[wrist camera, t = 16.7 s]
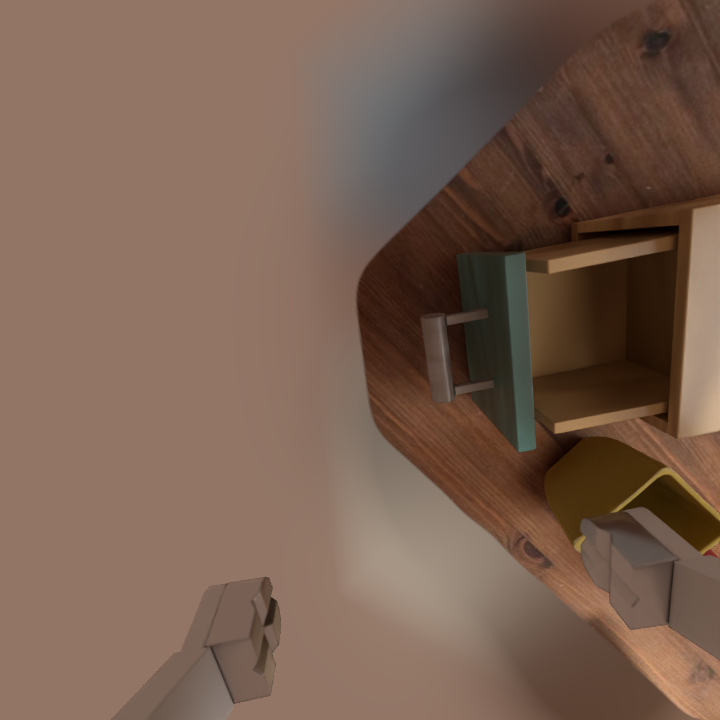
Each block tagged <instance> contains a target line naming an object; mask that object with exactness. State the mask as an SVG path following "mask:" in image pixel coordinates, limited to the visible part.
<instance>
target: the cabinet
mask: <svg viewBox="0 0 720 720" xmlns="http://www.w3.org/2000/svg"><path fill="white" fill-rule="evenodd" d="M666 227H679V240H678V257H677V274H676V291H675V308H674V325H673V342H672V359H671V377H670V394H669V411H668V412H666V413H661V414H656V415H650V416H645V417H640V419H642V420H643V421H645V422H647V423H649V424H651V425H652V426H654V427H656V428H658V429H660V430H661V431H663V432H665V433H668V434H669V435H671V436H673V437H674V438H676V439H680V438H685V437H691V436H696V435H701V434H706V433H711V432H717V431H720V194H718V195H713V196H708V197H703V198H698V199H693V200H688V201H683V202H678V203H672V204H667V205H662V206H657V207H652V208H647V209H642V210H637V211H632V212H627V213H622V214H617V215H611V216H606V217H601V218H596V219H591V220H586V221H581V222H576V223H572V224H571V241H572V242H573V241H578V240H583V239H588V238H593V237H598V236H603V235H608V234H614V233H619V232H624V231H629V230H640V229H653V228H666Z"/></svg>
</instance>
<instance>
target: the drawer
mask: <svg viewBox="0 0 720 720" xmlns="http://www.w3.org/2000/svg"><path fill="white" fill-rule="evenodd" d="M678 240H679V227H666V228H653V229H640V230H629V231H624V232H619V233H614V234H608V235H603V236H598V237H593V238H588V239H583V240H578V241H573V242H568V243H563V244H558V245H552V246H547V247H542V248H537V249H532V250H527V251H522V252H467V253H462V254H457V255H456V257H457V266H458V275H459V284H460V293H461V303H462V312H459V313H454V314H449V315H445V314H444V313H431V314H426V315H423V316H421V317H420V320H421V327H422V334H423V341H424V348H425V355H426V362H427V369H428V376H429V383H430V390H431V397H432V401H433V402H435V403H448V402H451V401H453V400H454V399H455V395H458V394H463V393H468V392H471V395H472V400H473V402H474V403H475V404H476V405H477V406H478V407H479V408H480V410H481V411H482V412H483V413H484V414H485V415H486V416H487V417H488V419H489V420H490V421H491V422H492V423H493V424H494V425H495V426H496V428H497V429H498V430H499V431H500V432H501V433H502V434H503V435H504V437H505V438H506V439H507V440H508V441H509V442H510V443H511V444H512V446H513V447H514V448H515V449H516V450H517V451H518V452H524V451H529V450H534V449H536V436H535V418H537V419H538V420H539V421H540V422H541V423H542V424H544V425H545V426H546V427H547V428H548V429H550V430H551V431H552V432H553V433H554V434H558V433H563V432H568V431H573V430H578V429H583V428H589V427H594V426H599V425H604V424H609V423H614V422H619V421H625V420H630V419H635V418H640V417H645V416H650V415H656V414H661V413H666V412H668V411H669V394H670V377H671V359H672V342H673V325H674V308H675V291H676V274H677V257H678ZM463 322H464V330H465V339H466V349H467V358H468V367H469V376H470V382H464V383H459V384H454V385H453V377H452V369H451V360H450V352H449V344H448V336H447V328H446V325H447V326H448V325H453V324H458V323H463ZM534 417H535V418H534Z"/></svg>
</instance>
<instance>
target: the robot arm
mask: <svg viewBox="0 0 720 720" xmlns="http://www.w3.org/2000/svg"><path fill="white" fill-rule="evenodd" d="M580 531H581V533H582V534H583V535H584V536H585V537H586V538H585V539H584V541H583V542H582V544H581V545H580V548H581V558H582V561H583V564H584V567H585V569H586V571H587V573H588V574H589V576H590V578H591V579H592V581H593V582H594V583H595V585H596V586H597V587H599V588H601V589H603V590H604V591H606V592H608V593H609V598H610V604H611V606H612V607H613V608H614V610H615V611H616V612H617V613H618V615H619V616H620V617H621V619H622V620H623V621H624V622H625V624H626V625H627V626H628V628H629V629H630V630H635V629H641V628H648V627H655V626H661V625H668V624H669V627H670V628H671V629H673V630H674V631H676V632H677V633H679V634H680V635H682V636H683V637H685V638H686V639H688V640H689V641H691V642H693V643H694V644H696V645H697V646H699V647H700V648H702V649H703V650H705V651H706V652H708V653H709V654H711V655H712V656H714V657H715V658H717V659H718V660H720V559H719V558H717V557H714V556H712V555H707V556H703V555H702V554H701V553H700V552H698V551H697V550H696V549H695V548H694V547H692V546H691V545H690V544H689V543H688V542H687V541H685V540H684V539H683V538H682V537H681V536H679V535H678V534H677V533H676V532H675V531H673V530H672V529H671V528H670V527H669V526H667V525H666V524H665V523H664V522H663V521H661V520H660V519H659V518H658V517H657V516H655V515H654V514H653V513H652V512H651V511H649V510H648V509H646V508H643V507H638V508H633V509H628V510H623V511H618V512H613V513H608V514H603V515H598V516H592V517H587V518H583V519H582V521H581V523H580ZM272 588H273V587H272V585H271V582H270V579H269V578H268V577H263V578H256V579H249V580H243V581H237V582H230V583H227V584H220V585H214V586H210V587H208V589H207V590H206V591H205V592H204V595H203V597H202V600H201V602H200V604H199V607H198V609H197V612H196V614H195V617H194V619H193V622H192V624H191V627H190V629H189V632H188V635H187V637H186V639H185V642H184V644H183V647H182V649H181V652H178V653H174V654H173V655H172V656H171V657H170V658H169V659H168V660H167V661H166V662H165V664H164V665H163V666H162V667H161V668H160V669H159V670H158V671H157V672H156V673H155V674H154V675H153V676H152V677H151V678H150V679H149V680H148V681H147V683H145V685H144V686H143V687H142V688H141V689H140V690H139V691H138V692H137V693H136V694H135V695H134V696H133V697H132V698H131V699H130V700H129V701H128V703H127V704H126V705H125V706H124V707H123V708H122V709H121V710H120V711H119V712H118V713H117V714H116V715H115V716H114V717H113V718H112V719H111V720H226V719H227V717H228V716H229V714H230V712H231V711H232V709H233V707H234V704H235V703H240V702H244V701H248V700H253V699H258V698H263V697H267V696H270V695H271V690H272V684H273V677H274V671H275V666H276V664H275V660H274V658H273V654H272V653H273V652H274V650H275V649H276V648H277V646H278V645H279V640H280V633H281V632H280V631H281V617H280V611H279V606H278V603H277V601H276V600H275V599H273V598H272V597H271V593H272Z"/></svg>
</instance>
